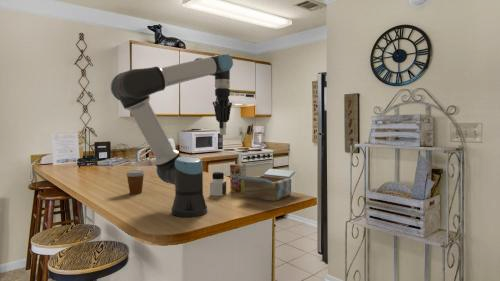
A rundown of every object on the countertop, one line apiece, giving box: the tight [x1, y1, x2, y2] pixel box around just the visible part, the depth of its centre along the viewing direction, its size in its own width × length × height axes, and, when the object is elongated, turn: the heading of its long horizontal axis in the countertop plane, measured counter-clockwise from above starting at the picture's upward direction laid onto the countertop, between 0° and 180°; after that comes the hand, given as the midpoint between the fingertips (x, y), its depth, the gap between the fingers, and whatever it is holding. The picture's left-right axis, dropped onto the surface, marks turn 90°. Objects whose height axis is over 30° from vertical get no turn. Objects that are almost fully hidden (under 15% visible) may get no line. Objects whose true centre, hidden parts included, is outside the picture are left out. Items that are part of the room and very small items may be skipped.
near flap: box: [238, 176, 273, 184], centre depth 162 cm, size 1×16×7 cm
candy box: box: [229, 163, 247, 194], centre depth 182 cm, size 9×4×15 cm, turn 46°
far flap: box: [263, 168, 296, 179], centre depth 182 cm, size 1×16×7 cm
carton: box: [244, 174, 292, 202], centre depth 172 cm, size 16×20×9 cm
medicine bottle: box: [209, 171, 227, 197], centre depth 176 cm, size 7×7×12 cm
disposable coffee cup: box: [125, 169, 145, 195], centre depth 181 cm, size 10×10×12 cm
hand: (222, 134), depth 168 cm, fingers closed
